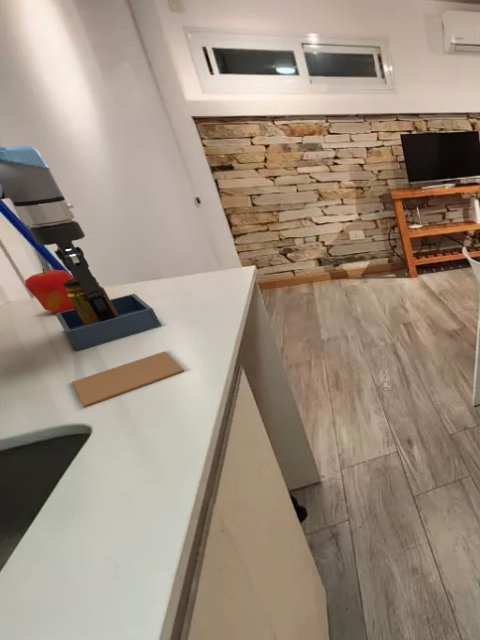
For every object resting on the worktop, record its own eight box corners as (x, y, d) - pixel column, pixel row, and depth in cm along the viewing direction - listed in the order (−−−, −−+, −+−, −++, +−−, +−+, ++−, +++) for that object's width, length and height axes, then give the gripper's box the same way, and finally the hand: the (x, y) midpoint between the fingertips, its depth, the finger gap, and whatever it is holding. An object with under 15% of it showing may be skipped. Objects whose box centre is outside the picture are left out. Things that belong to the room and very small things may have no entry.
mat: (84, 407, 81) (83, 405, 80) (73, 383, 89) (71, 381, 88) (184, 371, 90) (183, 369, 90) (165, 352, 98) (164, 351, 98)
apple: (71, 304, 132) (46, 263, 127) (97, 303, 131) (73, 262, 126) (35, 316, 124) (7, 273, 119) (63, 316, 123) (36, 272, 118)
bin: (77, 350, 102) (65, 332, 100) (65, 330, 114) (54, 313, 112) (161, 325, 112) (152, 308, 110) (143, 309, 124) (134, 293, 122)
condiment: (87, 328, 112) (59, 280, 107) (133, 316, 117) (109, 270, 112) (86, 336, 107) (56, 287, 102) (134, 324, 112) (108, 276, 107)
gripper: (82, 223, 99) (137, 323, 109) (70, 216, 110) (120, 307, 120) (31, 231, 94) (93, 336, 104) (23, 223, 105) (80, 318, 115)
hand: (107, 320), depth 112 cm, fingers closed on condiment, 6 cm apart
